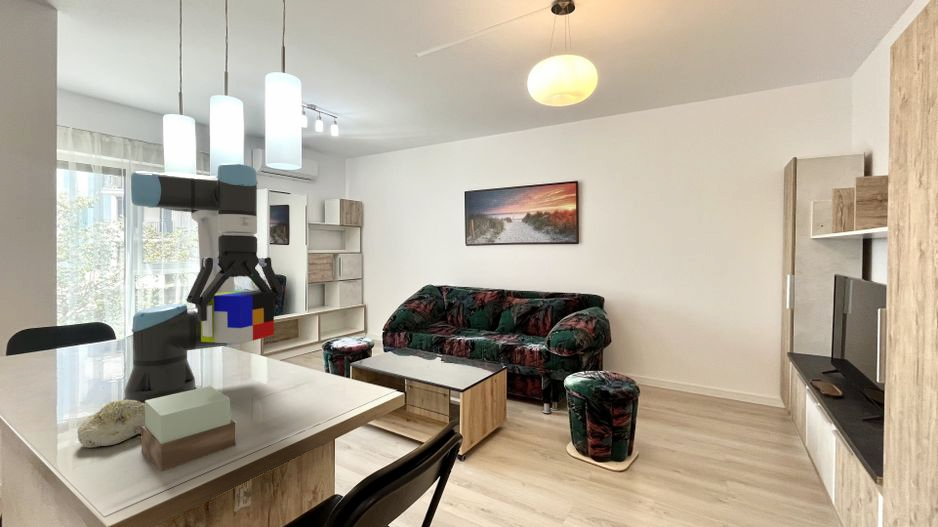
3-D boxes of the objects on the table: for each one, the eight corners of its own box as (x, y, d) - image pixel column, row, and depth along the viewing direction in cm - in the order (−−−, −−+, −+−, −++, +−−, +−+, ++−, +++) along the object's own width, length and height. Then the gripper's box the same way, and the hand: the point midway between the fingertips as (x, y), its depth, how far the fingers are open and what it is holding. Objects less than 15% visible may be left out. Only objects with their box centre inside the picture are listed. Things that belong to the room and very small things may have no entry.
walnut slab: (141, 451, 77) (141, 426, 76) (211, 430, 86) (211, 407, 86) (161, 473, 69) (161, 445, 69) (235, 447, 79) (235, 422, 79)
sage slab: (145, 426, 77) (144, 400, 76) (210, 409, 85) (209, 385, 85) (161, 444, 70) (160, 415, 69) (230, 423, 78) (229, 398, 78)
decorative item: (129, 402, 90) (159, 388, 87) (135, 441, 88) (166, 428, 85) (60, 416, 78) (92, 401, 76) (66, 462, 76) (98, 447, 74)
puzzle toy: (241, 344, 83) (240, 296, 83) (201, 341, 85) (200, 295, 85) (274, 334, 93) (273, 291, 93) (237, 332, 95) (237, 290, 95)
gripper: (181, 232, 76) (182, 343, 77) (298, 236, 96) (298, 325, 97) (166, 232, 80) (167, 338, 81) (281, 237, 100) (281, 321, 101)
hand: (239, 331), depth 89 cm, fingers closed on puzzle toy, 12 cm apart
